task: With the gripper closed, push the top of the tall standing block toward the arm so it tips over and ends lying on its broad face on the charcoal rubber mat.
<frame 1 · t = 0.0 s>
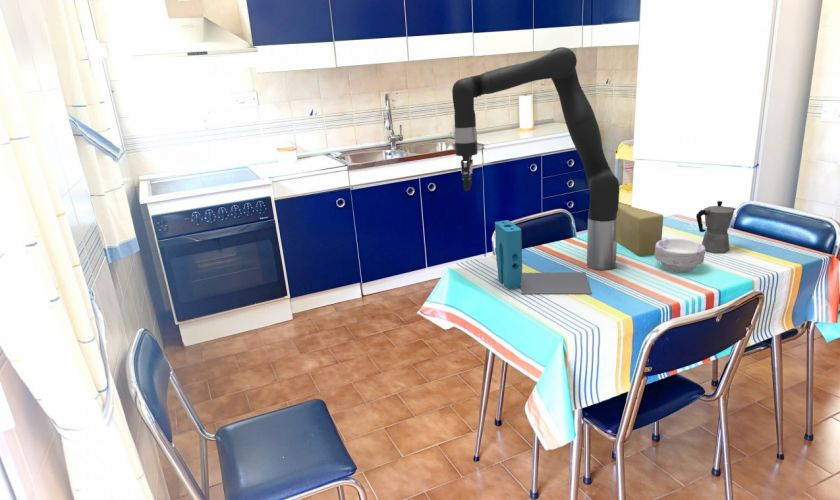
hand: (467, 187, 193), 29 cm above the table, tool pointing down, fingers open, 8 cm apart
tan rectangular box: (631, 247, 212), on the table
block: (509, 284, 186), on the table
coffeepot: (712, 250, 202), on the table
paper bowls: (678, 267, 189), on the table
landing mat: (554, 283, 183), on the table
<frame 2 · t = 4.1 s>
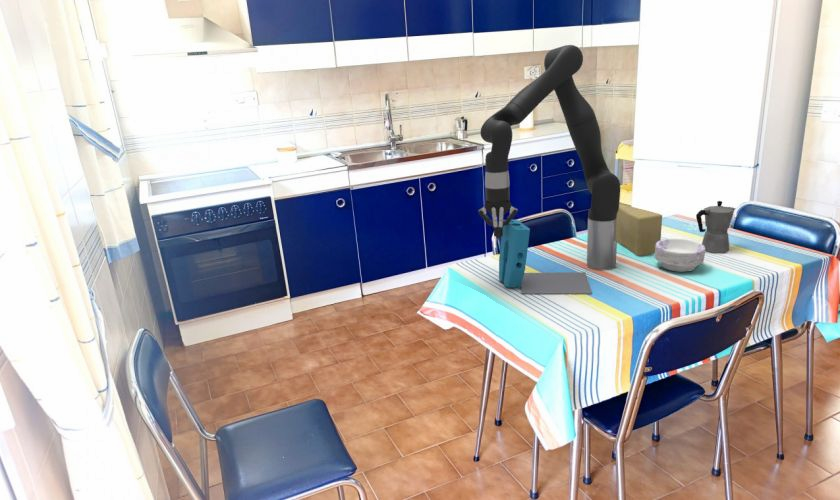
hand: (498, 237, 181), 16 cm above the table, tool pointing down, fingers closed
block: (509, 283, 185), on the table, touching gripper, hand
everything else where it was.
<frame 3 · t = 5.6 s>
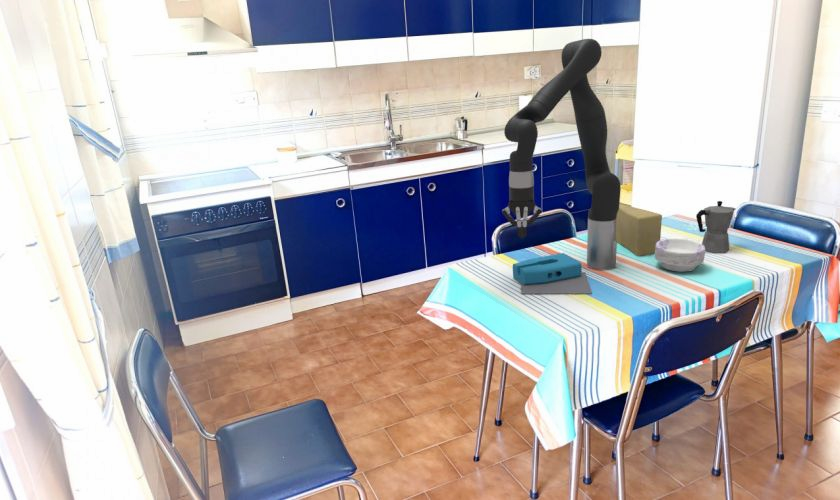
hand: (522, 237, 180), 16 cm above the table, tool pointing down, fingers closed
block: (518, 274, 185), point 3 cm above the table, touching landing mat
everything else where it was.
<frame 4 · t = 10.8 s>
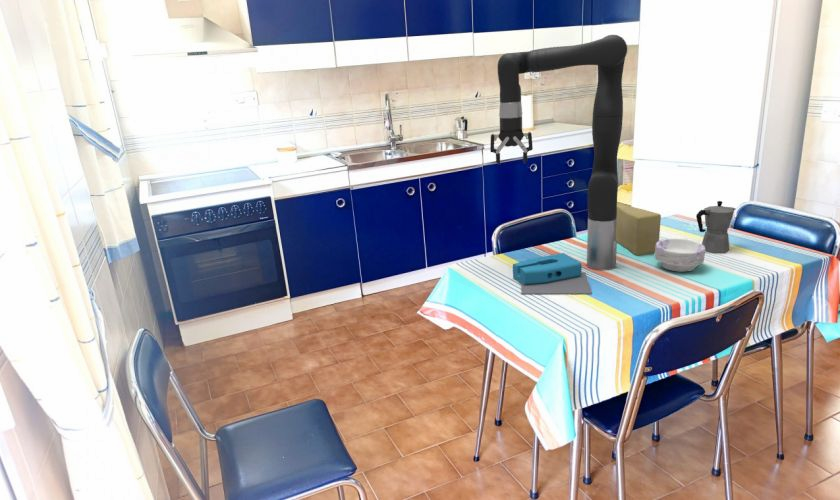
hand: (511, 163, 193), 36 cm above the table, tool pointing down, fingers open, 8 cm apart
at the end: block tilted 90°; block touching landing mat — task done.
